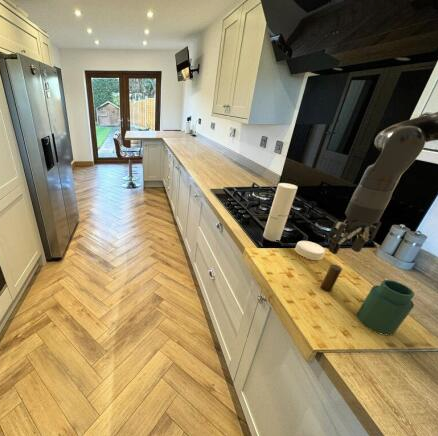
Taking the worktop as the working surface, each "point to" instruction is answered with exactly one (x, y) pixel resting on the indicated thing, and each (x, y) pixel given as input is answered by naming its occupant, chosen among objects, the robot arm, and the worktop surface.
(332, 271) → the dark brown cylinder
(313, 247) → the cream round disc
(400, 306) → the green jar
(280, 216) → the cylindrical container
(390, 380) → the worktop surface
